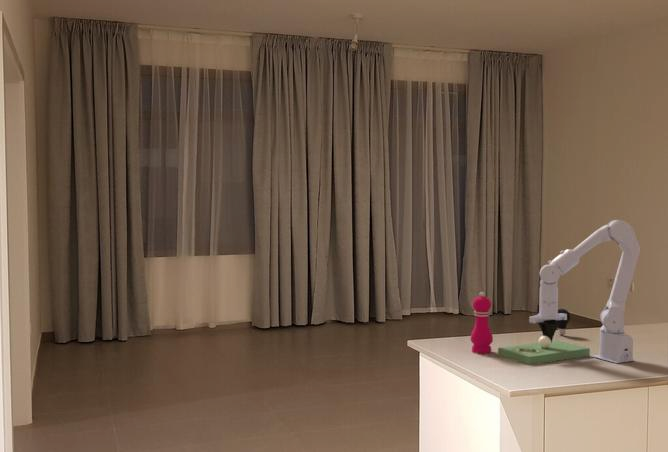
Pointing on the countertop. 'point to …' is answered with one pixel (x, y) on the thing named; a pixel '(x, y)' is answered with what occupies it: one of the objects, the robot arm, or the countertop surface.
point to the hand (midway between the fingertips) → (547, 343)
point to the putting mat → (543, 352)
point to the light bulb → (563, 322)
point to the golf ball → (544, 341)
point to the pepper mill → (481, 325)
